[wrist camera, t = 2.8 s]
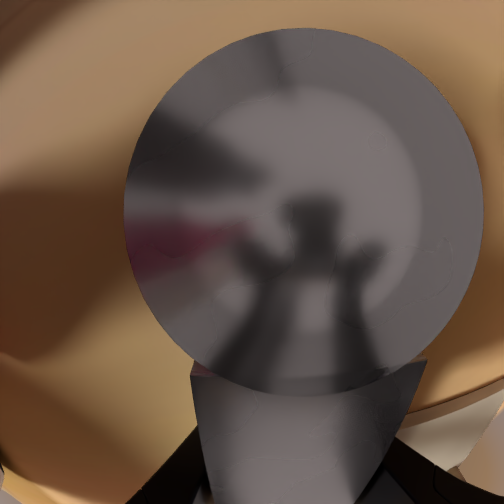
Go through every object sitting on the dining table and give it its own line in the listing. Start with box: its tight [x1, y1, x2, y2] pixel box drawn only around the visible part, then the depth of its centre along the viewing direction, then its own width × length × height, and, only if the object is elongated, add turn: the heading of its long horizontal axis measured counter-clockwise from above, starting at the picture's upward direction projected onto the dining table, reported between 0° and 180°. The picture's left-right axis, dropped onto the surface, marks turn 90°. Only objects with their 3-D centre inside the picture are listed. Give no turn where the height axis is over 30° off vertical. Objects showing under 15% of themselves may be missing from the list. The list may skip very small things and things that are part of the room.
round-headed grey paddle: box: [124, 28, 484, 504], centre depth 6 cm, size 16×5×4 cm, turn 0°
